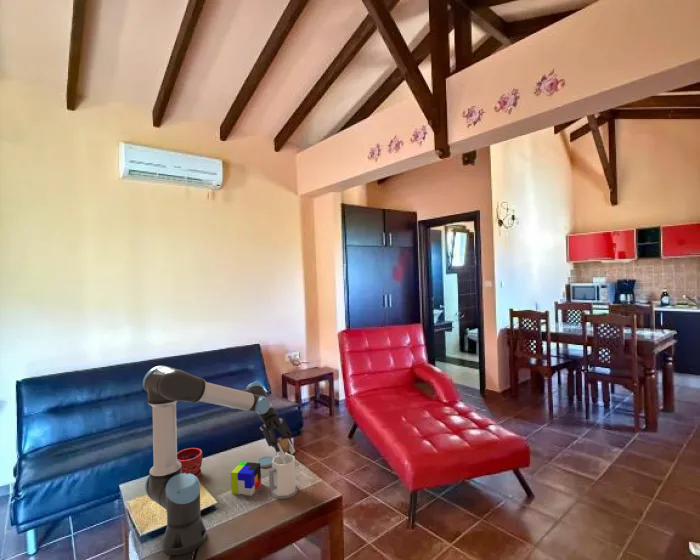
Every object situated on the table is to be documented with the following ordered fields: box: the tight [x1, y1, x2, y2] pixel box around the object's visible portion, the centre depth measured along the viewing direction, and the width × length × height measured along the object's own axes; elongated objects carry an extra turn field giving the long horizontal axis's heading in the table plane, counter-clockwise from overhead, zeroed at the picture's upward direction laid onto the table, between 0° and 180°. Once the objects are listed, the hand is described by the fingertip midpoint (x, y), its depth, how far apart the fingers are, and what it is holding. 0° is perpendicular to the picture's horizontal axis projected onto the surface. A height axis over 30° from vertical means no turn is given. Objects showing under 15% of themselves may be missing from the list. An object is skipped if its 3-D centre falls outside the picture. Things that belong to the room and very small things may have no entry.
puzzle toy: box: [230, 461, 262, 496], centre depth 178 cm, size 10×10×10 cm
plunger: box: [276, 436, 289, 464], centre depth 174 cm, size 8×8×22 cm
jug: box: [268, 453, 299, 500], centre depth 174 cm, size 14×12×15 cm
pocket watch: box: [256, 451, 279, 469], centre depth 201 cm, size 10×11×15 cm
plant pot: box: [177, 447, 203, 478], centre depth 190 cm, size 13×13×12 cm
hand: (288, 455), depth 172 cm, fingers closed on plunger, 5 cm apart
